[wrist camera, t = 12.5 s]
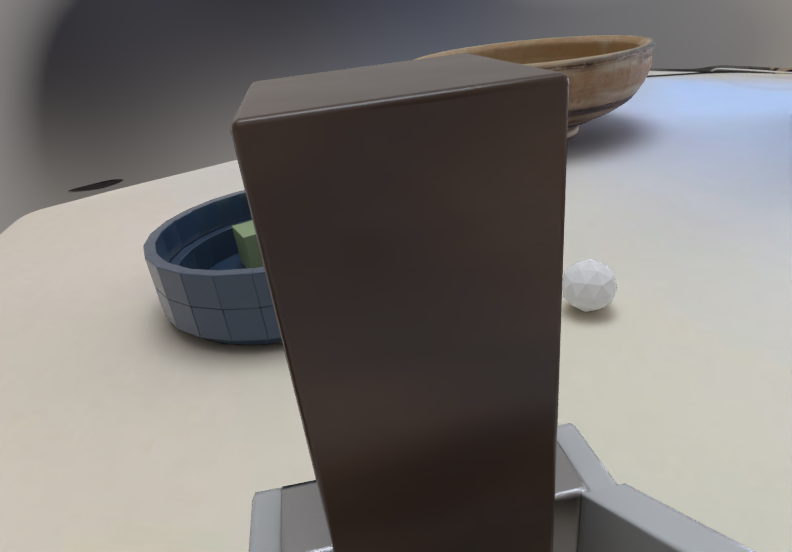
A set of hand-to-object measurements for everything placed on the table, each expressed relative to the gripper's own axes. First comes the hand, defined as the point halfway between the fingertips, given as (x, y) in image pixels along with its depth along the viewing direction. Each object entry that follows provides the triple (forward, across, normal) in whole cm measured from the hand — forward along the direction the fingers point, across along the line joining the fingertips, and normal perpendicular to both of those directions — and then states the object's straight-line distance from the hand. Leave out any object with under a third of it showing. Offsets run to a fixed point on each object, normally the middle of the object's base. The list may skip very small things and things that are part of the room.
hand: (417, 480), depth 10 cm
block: (+30, +5, +8) cm, 31 cm away
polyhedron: (+17, -13, +9) cm, 23 cm away
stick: (-1, 0, +8) cm, 9 cm away
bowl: (+27, +4, +8) cm, 29 cm away
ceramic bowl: (+58, -26, +9) cm, 65 cm away
